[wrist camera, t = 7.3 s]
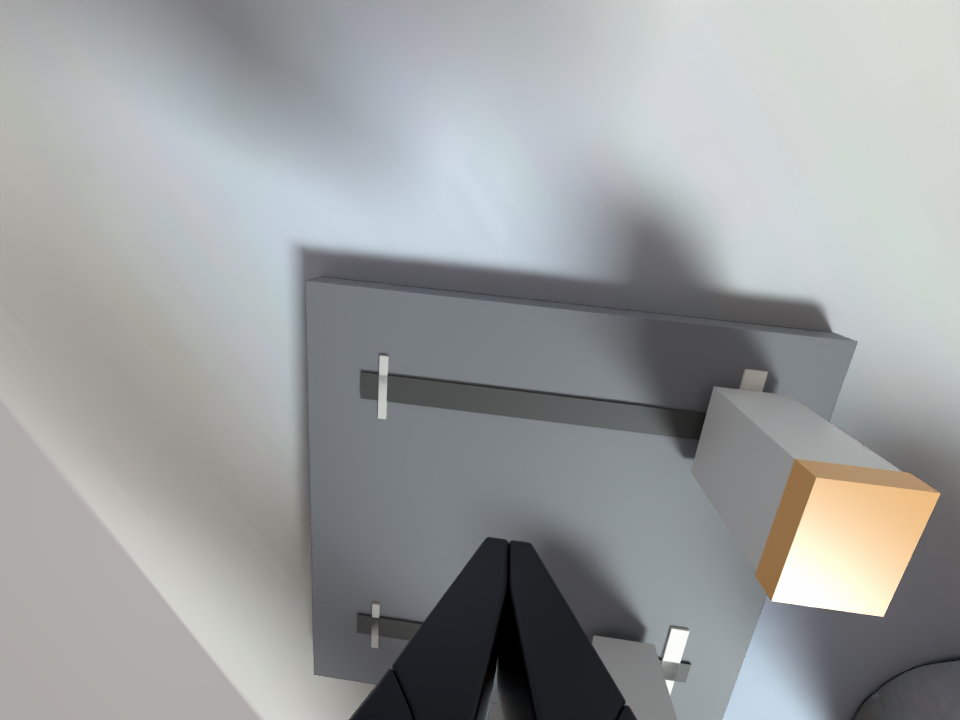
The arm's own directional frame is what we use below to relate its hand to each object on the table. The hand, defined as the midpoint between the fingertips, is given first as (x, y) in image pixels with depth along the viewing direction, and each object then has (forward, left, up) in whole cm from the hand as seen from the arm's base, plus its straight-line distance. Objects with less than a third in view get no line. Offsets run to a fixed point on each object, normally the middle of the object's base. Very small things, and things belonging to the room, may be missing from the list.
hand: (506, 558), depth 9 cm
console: (-6, -2, -9) cm, 11 cm away
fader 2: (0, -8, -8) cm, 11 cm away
